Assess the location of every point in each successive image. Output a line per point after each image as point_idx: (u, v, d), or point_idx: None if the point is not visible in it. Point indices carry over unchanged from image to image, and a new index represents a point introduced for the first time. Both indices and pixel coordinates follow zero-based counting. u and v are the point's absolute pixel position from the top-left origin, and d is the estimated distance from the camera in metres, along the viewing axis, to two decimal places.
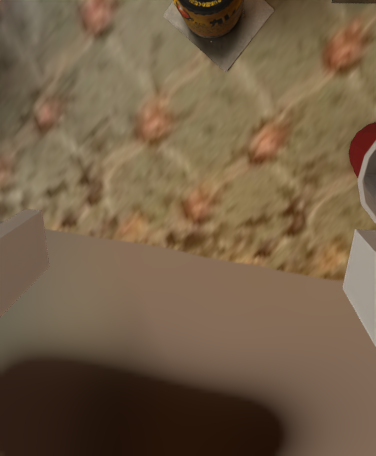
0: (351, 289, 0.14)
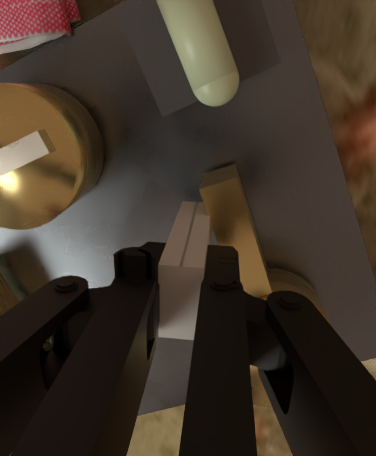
0: None
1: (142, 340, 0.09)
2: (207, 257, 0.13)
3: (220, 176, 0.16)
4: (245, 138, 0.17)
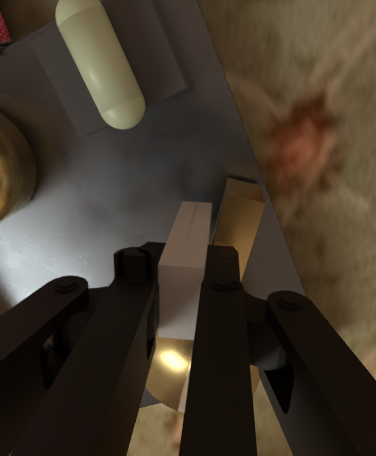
0: None
1: (142, 340, 0.09)
2: (207, 257, 0.13)
3: (247, 192, 0.16)
4: (171, 155, 0.18)
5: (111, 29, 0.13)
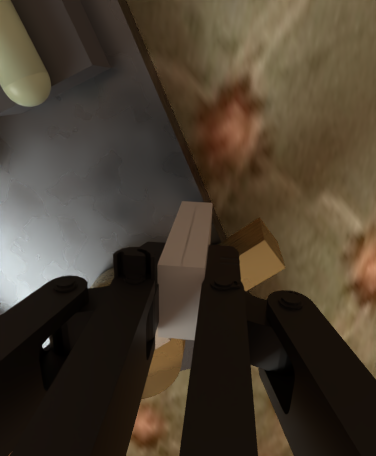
0: None
1: (141, 340, 0.09)
2: (208, 257, 0.13)
3: (273, 245, 0.16)
4: (95, 137, 0.18)
5: (8, 4, 0.13)
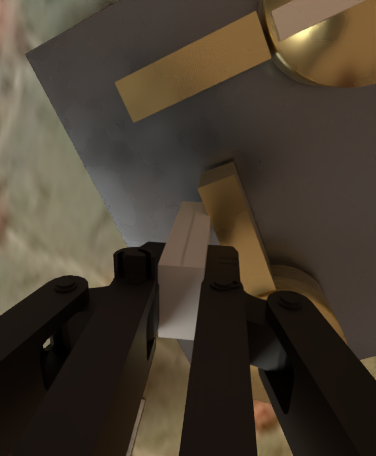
0: None
1: (142, 340, 0.09)
2: (207, 257, 0.13)
3: None
4: None
5: None
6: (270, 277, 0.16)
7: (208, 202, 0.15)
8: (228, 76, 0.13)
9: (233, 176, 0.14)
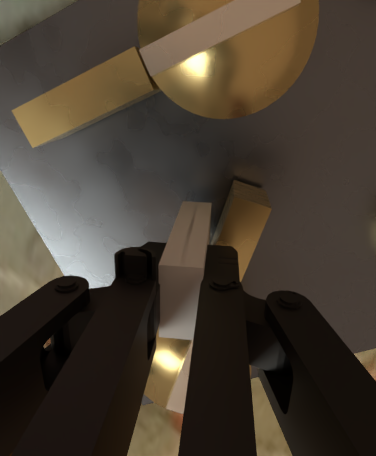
0: None
1: (142, 340, 0.09)
2: (206, 257, 0.13)
3: None
4: None
5: None
6: None
7: (233, 214, 0.15)
8: (115, 106, 0.14)
9: (270, 209, 0.15)
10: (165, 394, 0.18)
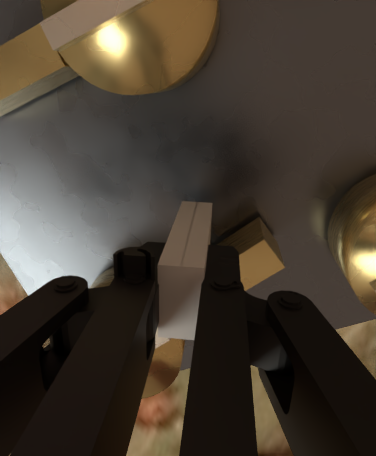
0: None
1: (141, 340, 0.09)
2: (207, 257, 0.13)
3: None
4: None
5: None
6: None
7: (252, 252, 0.15)
8: (28, 83, 0.14)
9: (283, 267, 0.15)
10: None
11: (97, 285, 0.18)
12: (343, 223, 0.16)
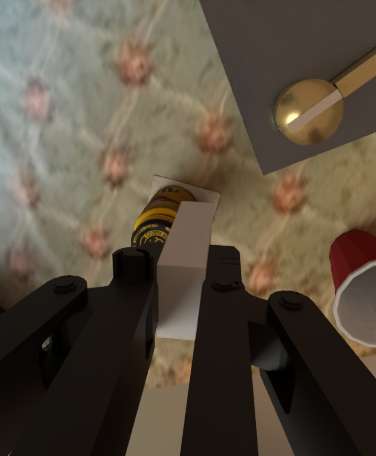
0: None
1: (141, 340, 0.09)
2: (208, 257, 0.13)
3: None
4: None
5: None
6: (350, 93, 0.34)
7: None
8: None
9: None
10: (287, 121, 0.35)
11: (293, 83, 0.35)
12: None
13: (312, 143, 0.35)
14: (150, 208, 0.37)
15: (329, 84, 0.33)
